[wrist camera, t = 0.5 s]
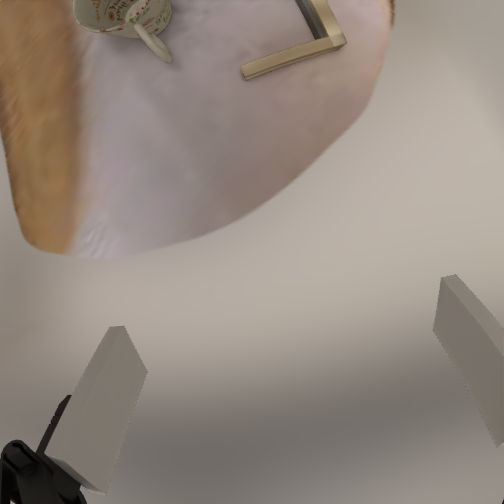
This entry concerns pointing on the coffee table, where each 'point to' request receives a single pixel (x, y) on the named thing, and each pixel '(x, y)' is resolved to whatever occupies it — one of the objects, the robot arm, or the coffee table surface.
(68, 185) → the coffee table surface
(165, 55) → the mug
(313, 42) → the bay
